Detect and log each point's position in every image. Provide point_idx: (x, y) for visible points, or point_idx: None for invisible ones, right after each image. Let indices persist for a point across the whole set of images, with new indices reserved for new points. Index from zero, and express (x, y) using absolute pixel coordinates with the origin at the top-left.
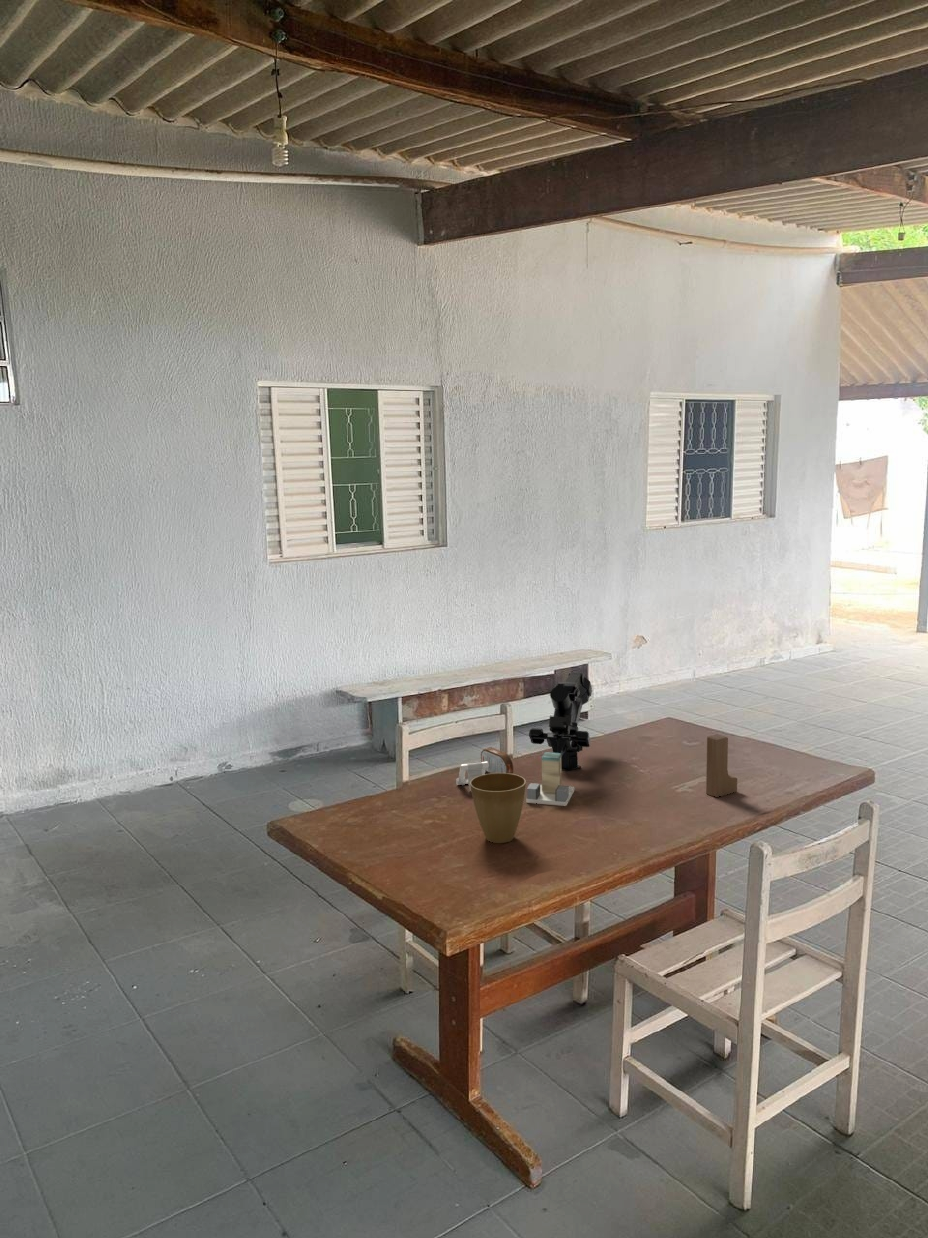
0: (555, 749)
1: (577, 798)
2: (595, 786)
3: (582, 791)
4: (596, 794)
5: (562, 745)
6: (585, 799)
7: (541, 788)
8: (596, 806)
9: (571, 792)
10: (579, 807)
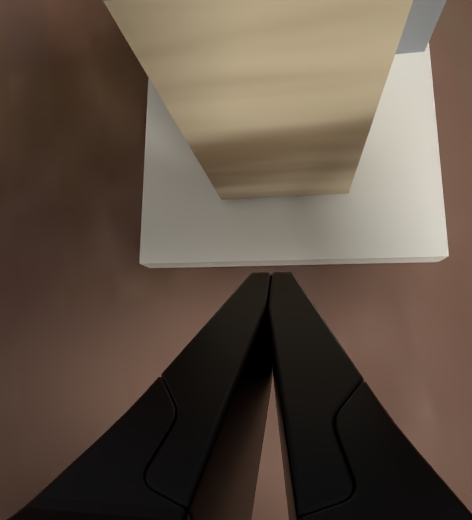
0: (295, 397)
1: (114, 139)
2: (22, 394)
3: (97, 272)
4: (11, 238)
5: (77, 500)
6: (68, 137)
7: (373, 167)
8: (5, 54)
9: (145, 155)
10: (89, 11)
